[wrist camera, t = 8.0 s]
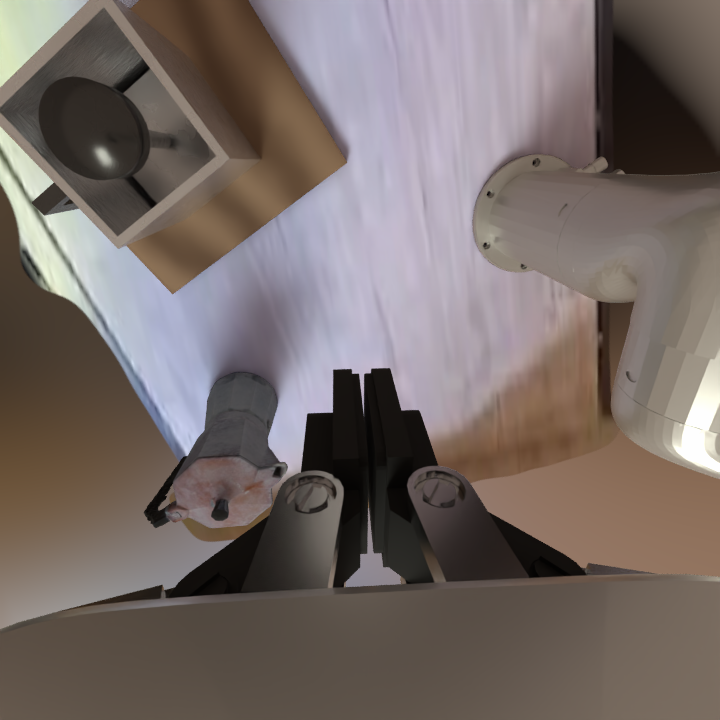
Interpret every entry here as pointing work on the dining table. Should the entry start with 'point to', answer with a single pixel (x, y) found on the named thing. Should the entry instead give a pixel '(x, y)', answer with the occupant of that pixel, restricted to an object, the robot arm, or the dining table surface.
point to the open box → (120, 71)
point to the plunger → (122, 133)
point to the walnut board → (256, 121)
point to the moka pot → (226, 459)
